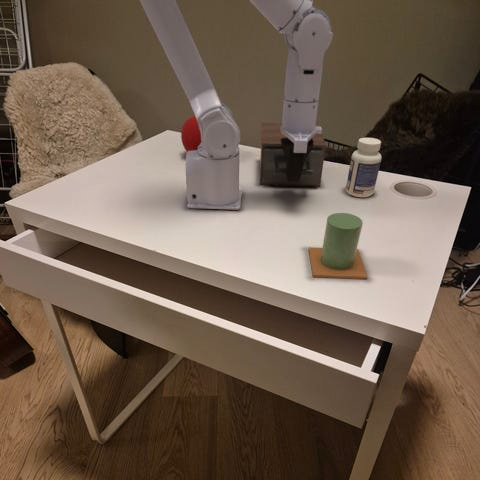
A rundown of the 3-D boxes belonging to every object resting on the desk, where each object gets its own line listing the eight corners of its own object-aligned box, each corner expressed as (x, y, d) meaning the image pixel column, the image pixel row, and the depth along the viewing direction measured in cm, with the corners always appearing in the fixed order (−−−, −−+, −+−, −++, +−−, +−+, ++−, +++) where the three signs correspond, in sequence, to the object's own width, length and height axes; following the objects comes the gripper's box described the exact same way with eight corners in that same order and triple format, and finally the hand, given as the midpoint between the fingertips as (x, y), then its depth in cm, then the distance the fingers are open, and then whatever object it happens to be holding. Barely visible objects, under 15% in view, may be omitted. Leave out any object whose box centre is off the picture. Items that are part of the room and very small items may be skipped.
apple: (210, 165, 91) (208, 116, 85) (174, 159, 94) (170, 111, 88) (228, 153, 98) (228, 106, 91) (194, 147, 100) (192, 101, 94)
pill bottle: (378, 193, 81) (391, 141, 75) (361, 200, 78) (373, 147, 72) (357, 184, 84) (367, 134, 78) (339, 191, 82) (348, 139, 75)
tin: (322, 269, 59) (329, 228, 55) (318, 252, 63) (325, 212, 59) (356, 270, 59) (365, 229, 55) (350, 253, 63) (359, 213, 59)
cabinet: (319, 186, 83) (326, 144, 78) (259, 184, 83) (261, 142, 78) (313, 162, 93) (318, 124, 88) (260, 161, 94) (262, 122, 89)
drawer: (320, 193, 78) (325, 159, 74) (262, 191, 79) (264, 157, 75) (312, 162, 91) (316, 132, 87) (263, 160, 91) (264, 130, 87)
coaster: (312, 277, 58) (313, 274, 58) (308, 249, 64) (308, 247, 64) (367, 279, 58) (367, 276, 58) (357, 251, 64) (358, 249, 64)
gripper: (331, 110, 62) (318, 197, 71) (320, 90, 73) (311, 167, 82) (284, 109, 62) (277, 195, 71) (281, 88, 73) (275, 165, 82)
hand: (293, 180), depth 77 cm, fingers closed, pressing on drawer
